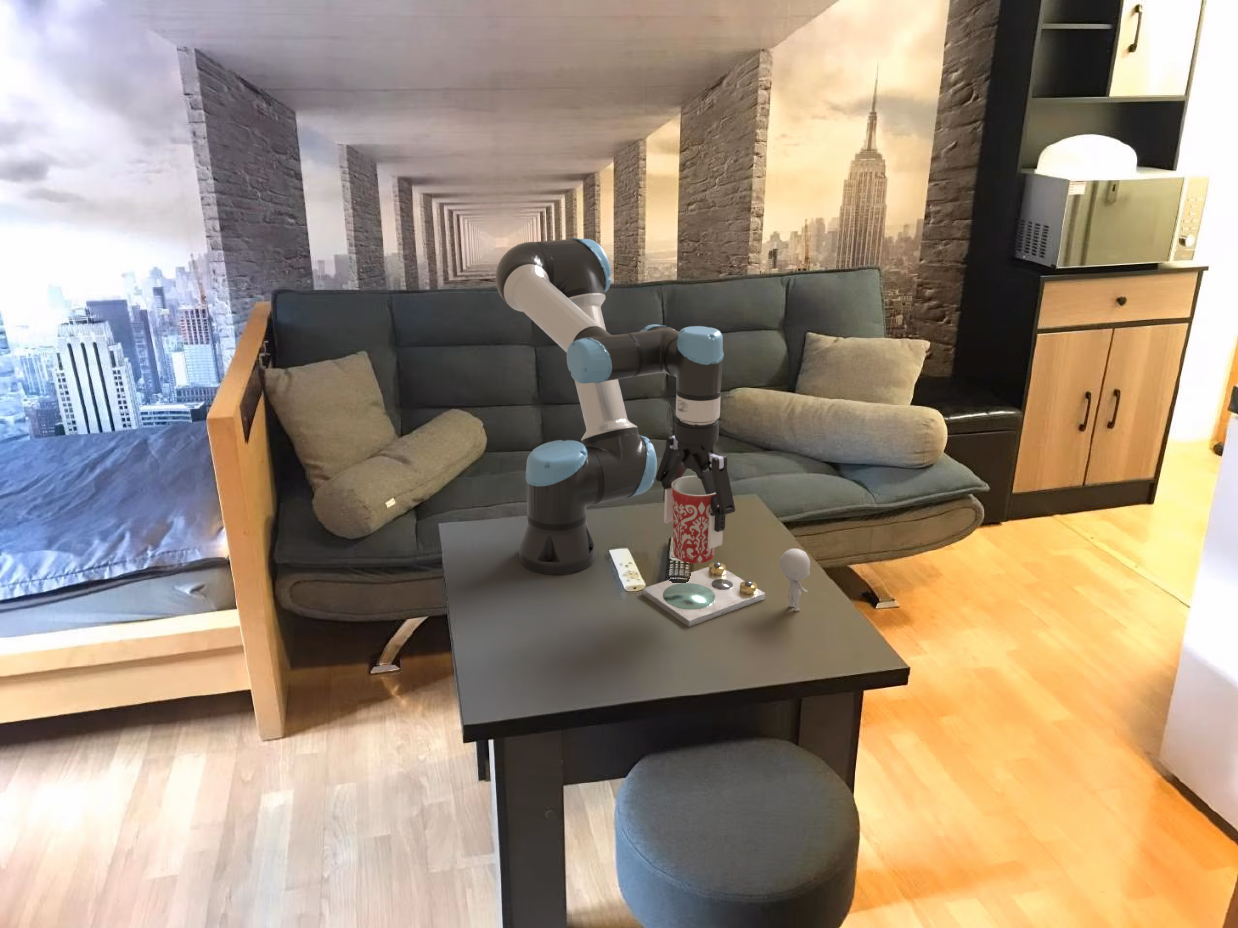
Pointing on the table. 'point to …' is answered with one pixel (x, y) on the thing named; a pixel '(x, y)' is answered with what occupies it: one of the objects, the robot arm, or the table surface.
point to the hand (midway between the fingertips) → (692, 533)
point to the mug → (691, 520)
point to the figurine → (795, 573)
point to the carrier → (704, 594)
